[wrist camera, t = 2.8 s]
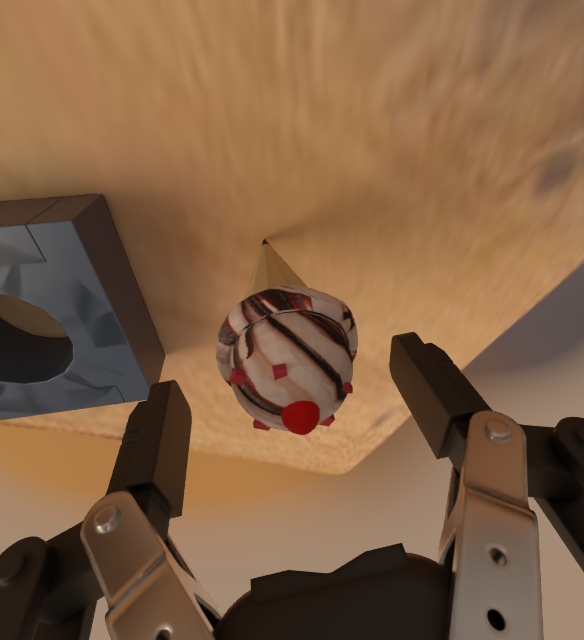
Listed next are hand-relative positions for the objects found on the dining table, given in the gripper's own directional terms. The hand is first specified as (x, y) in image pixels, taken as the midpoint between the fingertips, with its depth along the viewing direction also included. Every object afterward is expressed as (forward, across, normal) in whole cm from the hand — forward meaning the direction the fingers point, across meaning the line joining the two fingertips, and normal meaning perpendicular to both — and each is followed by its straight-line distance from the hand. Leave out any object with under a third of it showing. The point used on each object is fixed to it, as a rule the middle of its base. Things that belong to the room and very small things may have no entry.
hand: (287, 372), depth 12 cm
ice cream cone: (+13, 0, 0) cm, 13 cm away
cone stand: (+12, +16, +1) cm, 20 cm away
